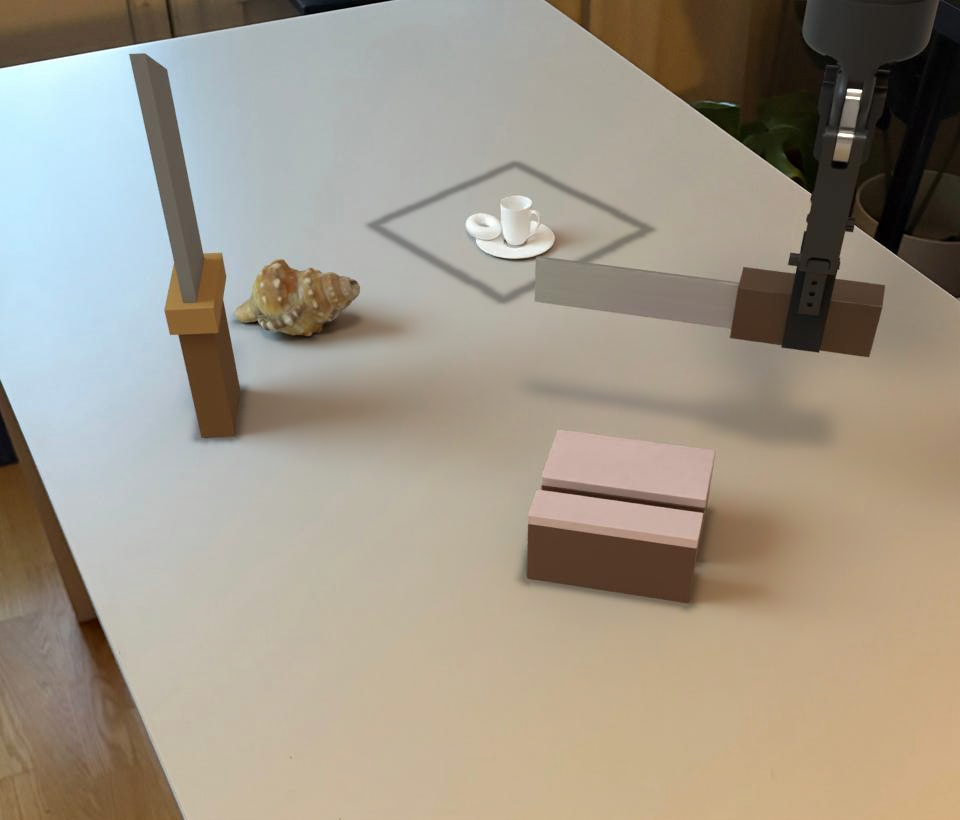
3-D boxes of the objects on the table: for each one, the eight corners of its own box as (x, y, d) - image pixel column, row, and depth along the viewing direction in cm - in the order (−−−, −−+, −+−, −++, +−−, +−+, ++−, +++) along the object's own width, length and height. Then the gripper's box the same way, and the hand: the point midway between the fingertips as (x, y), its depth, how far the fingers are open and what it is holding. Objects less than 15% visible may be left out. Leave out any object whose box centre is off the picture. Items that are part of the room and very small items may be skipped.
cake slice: (693, 576, 90) (703, 512, 86) (688, 603, 88) (698, 540, 84) (535, 552, 92) (536, 489, 88) (526, 578, 90) (527, 515, 86)
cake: (705, 513, 95) (716, 449, 90) (696, 563, 91) (706, 499, 87) (555, 492, 97) (557, 428, 92) (539, 540, 93) (541, 476, 89)
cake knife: (872, 335, 89) (885, 284, 86) (869, 357, 87) (882, 306, 84) (539, 290, 93) (541, 240, 90) (530, 310, 92) (531, 260, 88)
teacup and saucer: (454, 239, 123) (453, 199, 120) (512, 213, 127) (512, 173, 124) (512, 271, 119) (513, 231, 116) (571, 243, 122) (572, 204, 119)
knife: (239, 443, 102) (163, 57, 79) (195, 445, 102) (106, 60, 79) (246, 385, 107) (177, 9, 84) (204, 387, 107) (123, 11, 84)
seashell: (331, 327, 119) (369, 251, 111) (319, 386, 115) (357, 311, 107) (241, 287, 116) (273, 206, 108) (224, 346, 112) (256, 266, 104)
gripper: (825, -79, 76) (764, 272, 94) (799, 15, 66) (736, 388, 84) (948, -70, 75) (863, 284, 93) (941, 27, 65) (847, 403, 83)
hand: (803, 333), depth 89 cm, fingers closed on cake knife, 3 cm apart
